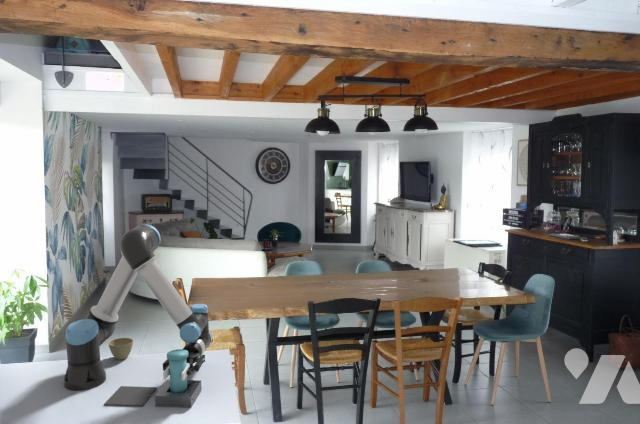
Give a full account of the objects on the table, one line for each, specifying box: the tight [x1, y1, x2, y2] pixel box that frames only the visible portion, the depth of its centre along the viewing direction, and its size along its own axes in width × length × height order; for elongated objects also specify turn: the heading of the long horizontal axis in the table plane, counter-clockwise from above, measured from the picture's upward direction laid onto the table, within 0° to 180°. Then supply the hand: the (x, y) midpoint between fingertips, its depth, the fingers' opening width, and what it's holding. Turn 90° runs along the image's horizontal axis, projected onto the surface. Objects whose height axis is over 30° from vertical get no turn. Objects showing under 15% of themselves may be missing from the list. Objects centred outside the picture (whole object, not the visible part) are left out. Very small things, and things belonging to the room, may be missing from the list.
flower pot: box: [108, 337, 134, 361], centre depth 237 cm, size 10×10×7 cm
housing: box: [154, 379, 203, 409], centre depth 200 cm, size 13×13×4 cm
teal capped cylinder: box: [166, 348, 188, 393], centre depth 199 cm, size 8×8×16 cm
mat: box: [103, 385, 158, 408], centre depth 202 cm, size 14×14×1 cm
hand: (173, 376), depth 194 cm, fingers closed on teal capped cylinder, 6 cm apart
